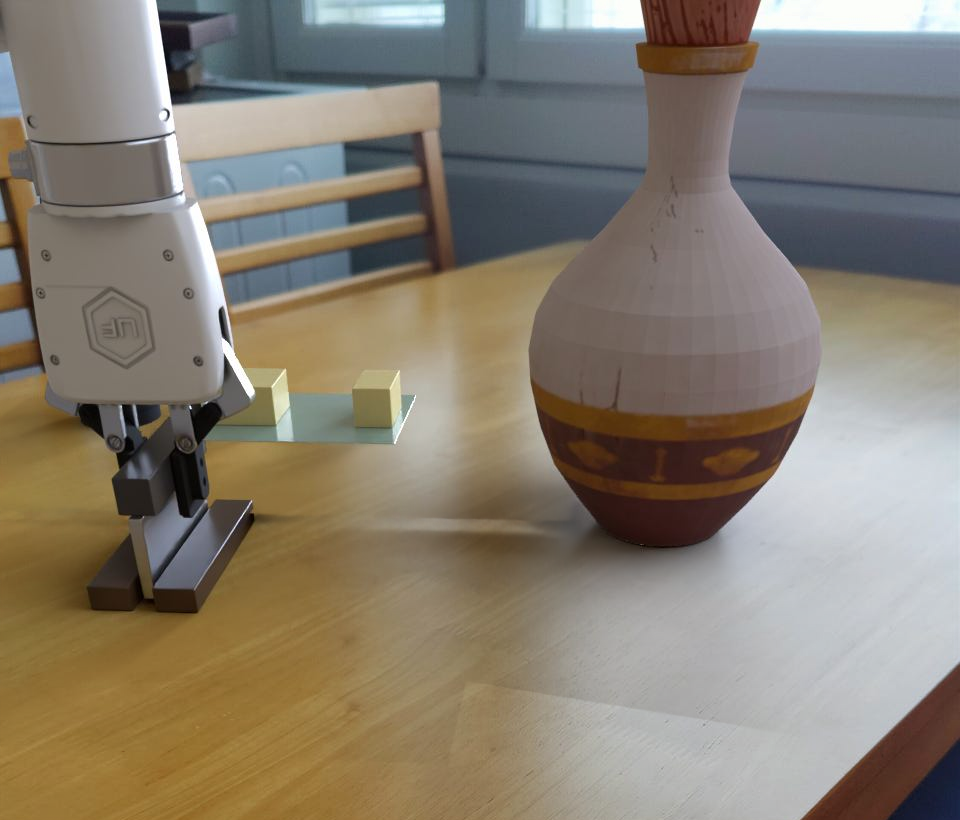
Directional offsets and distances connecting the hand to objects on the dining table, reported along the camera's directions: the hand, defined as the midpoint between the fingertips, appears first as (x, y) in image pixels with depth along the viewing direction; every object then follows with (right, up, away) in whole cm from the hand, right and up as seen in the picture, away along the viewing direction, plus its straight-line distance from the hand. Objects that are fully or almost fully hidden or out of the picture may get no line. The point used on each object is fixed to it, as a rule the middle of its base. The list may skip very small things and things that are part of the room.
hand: (170, 507), depth 75 cm
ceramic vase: (+32, +1, +7) cm, 32 cm away
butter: (0, +14, +22) cm, 26 cm away
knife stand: (0, -3, +2) cm, 4 cm away
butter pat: (+11, +13, +21) cm, 28 cm away
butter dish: (+4, +13, +23) cm, 26 cm away
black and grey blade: (0, -3, +2) cm, 3 cm away
